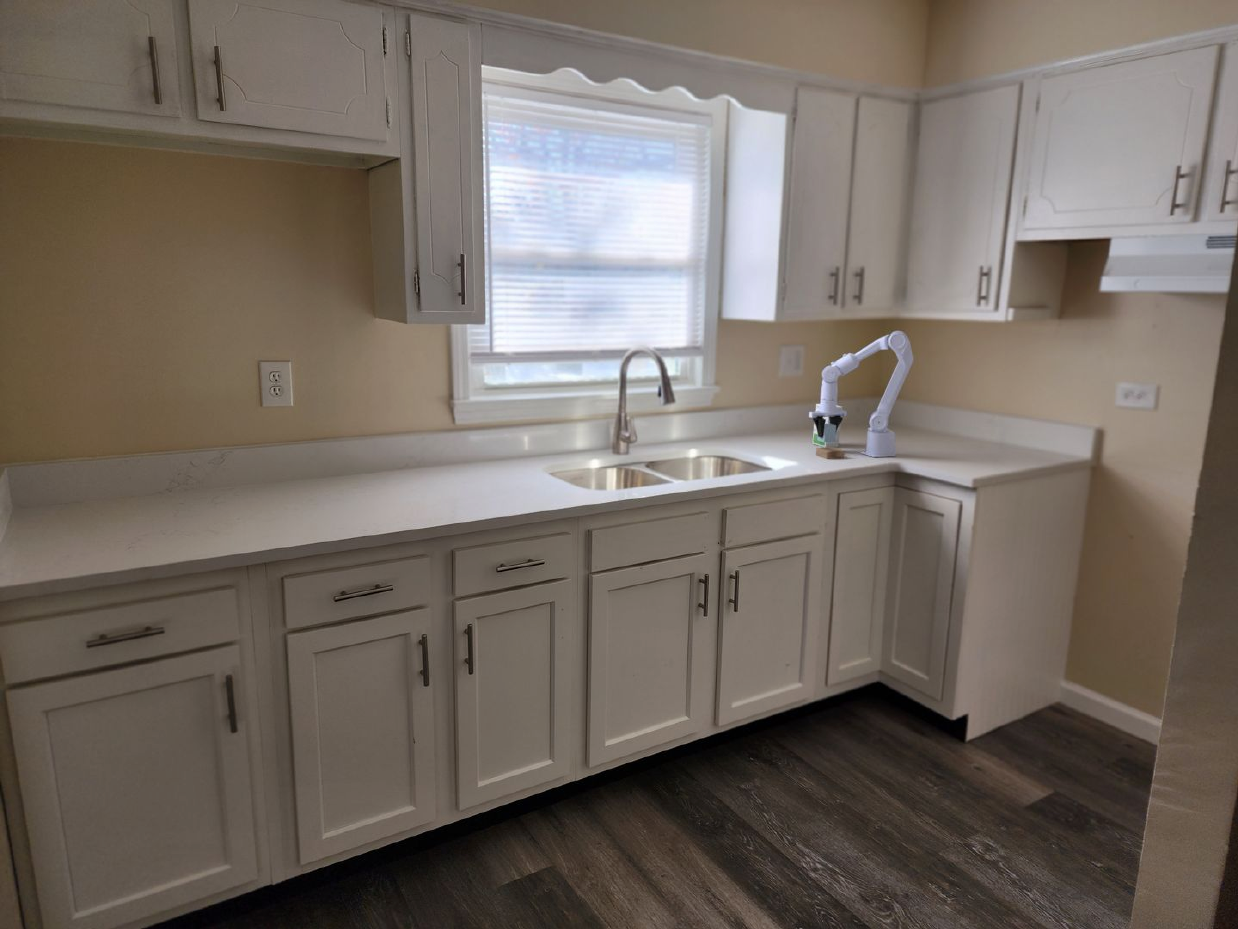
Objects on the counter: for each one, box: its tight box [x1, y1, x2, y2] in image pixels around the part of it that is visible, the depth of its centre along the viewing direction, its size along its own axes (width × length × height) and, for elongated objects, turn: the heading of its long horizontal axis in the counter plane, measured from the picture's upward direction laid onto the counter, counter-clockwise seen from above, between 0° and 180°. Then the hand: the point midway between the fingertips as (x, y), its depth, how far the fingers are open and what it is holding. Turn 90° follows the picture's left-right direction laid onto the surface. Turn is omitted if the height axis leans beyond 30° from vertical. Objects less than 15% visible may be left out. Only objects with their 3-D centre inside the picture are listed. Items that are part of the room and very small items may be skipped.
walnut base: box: [815, 447, 846, 460], centre depth 287 cm, size 7×7×3 cm
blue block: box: [817, 424, 836, 442], centre depth 295 cm, size 4×4×6 cm
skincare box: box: [812, 403, 844, 448], centre depth 306 cm, size 8×7×16 cm
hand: (826, 436), depth 295 cm, fingers closed on blue block, 4 cm apart
